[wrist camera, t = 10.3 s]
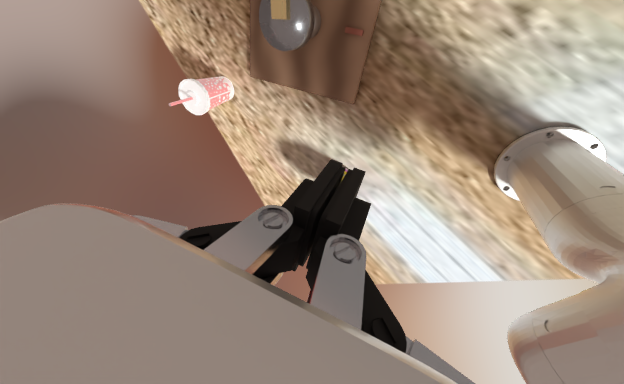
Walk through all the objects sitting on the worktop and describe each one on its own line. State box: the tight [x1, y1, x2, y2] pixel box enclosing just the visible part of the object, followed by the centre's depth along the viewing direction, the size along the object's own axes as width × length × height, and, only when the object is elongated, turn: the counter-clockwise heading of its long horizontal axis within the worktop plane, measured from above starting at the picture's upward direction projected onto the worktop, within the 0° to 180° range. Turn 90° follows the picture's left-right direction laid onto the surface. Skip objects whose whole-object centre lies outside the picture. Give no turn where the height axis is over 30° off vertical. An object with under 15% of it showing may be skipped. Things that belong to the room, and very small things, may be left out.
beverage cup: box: [169, 76, 234, 115], centre depth 44 cm, size 6×6×14 cm
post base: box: [250, 0, 382, 104], centre depth 35 cm, size 20×20×7 cm
